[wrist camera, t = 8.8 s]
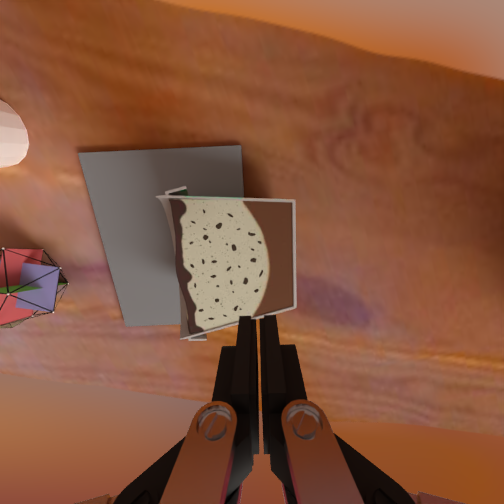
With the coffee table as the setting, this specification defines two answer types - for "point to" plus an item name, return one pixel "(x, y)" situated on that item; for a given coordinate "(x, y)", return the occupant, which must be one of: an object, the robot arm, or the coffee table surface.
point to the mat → (151, 218)
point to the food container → (231, 258)
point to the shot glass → (11, 137)
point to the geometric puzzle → (26, 285)
